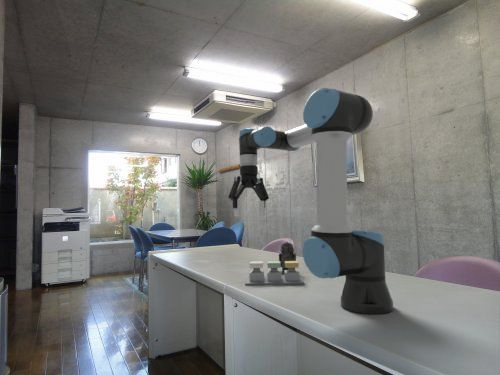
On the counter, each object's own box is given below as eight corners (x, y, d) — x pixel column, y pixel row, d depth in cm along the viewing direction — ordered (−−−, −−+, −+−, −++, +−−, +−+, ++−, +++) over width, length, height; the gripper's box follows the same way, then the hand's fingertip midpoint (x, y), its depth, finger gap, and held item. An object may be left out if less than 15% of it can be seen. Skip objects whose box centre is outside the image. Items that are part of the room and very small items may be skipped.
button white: (263, 272, 141) (263, 261, 141) (263, 275, 136) (262, 263, 136) (250, 272, 141) (250, 261, 142) (250, 275, 136) (249, 263, 136)
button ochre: (297, 272, 140) (297, 260, 141) (298, 274, 135) (298, 262, 135) (285, 272, 140) (284, 261, 141) (285, 275, 135) (285, 263, 135)
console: (300, 277, 145) (300, 268, 145) (304, 285, 129) (304, 274, 129) (247, 277, 146) (247, 268, 147) (245, 285, 131) (245, 275, 131)
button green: (280, 272, 141) (280, 261, 141) (280, 275, 135) (280, 263, 136) (267, 272, 141) (267, 261, 141) (267, 275, 135) (267, 263, 136)
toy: (277, 274, 153) (277, 242, 155) (280, 271, 159) (279, 241, 160) (295, 274, 151) (294, 242, 152) (297, 272, 156) (296, 241, 158)
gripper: (264, 169, 146) (265, 215, 144) (219, 164, 130) (220, 217, 128) (276, 167, 141) (277, 215, 139) (230, 161, 125) (231, 216, 123)
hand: (249, 216), depth 134 cm, fingers open, 13 cm apart
